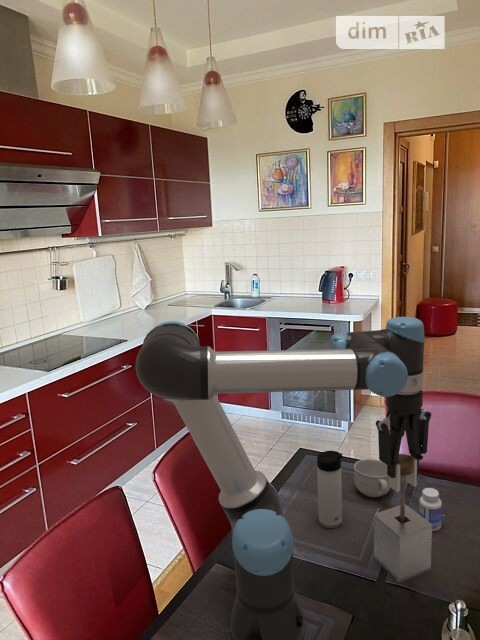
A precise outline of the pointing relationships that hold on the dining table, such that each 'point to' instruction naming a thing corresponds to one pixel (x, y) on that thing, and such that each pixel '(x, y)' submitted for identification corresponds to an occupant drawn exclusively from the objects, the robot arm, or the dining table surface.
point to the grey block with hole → (402, 543)
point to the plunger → (405, 469)
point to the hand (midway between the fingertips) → (402, 485)
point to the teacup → (371, 477)
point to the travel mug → (329, 489)
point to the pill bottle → (431, 507)
